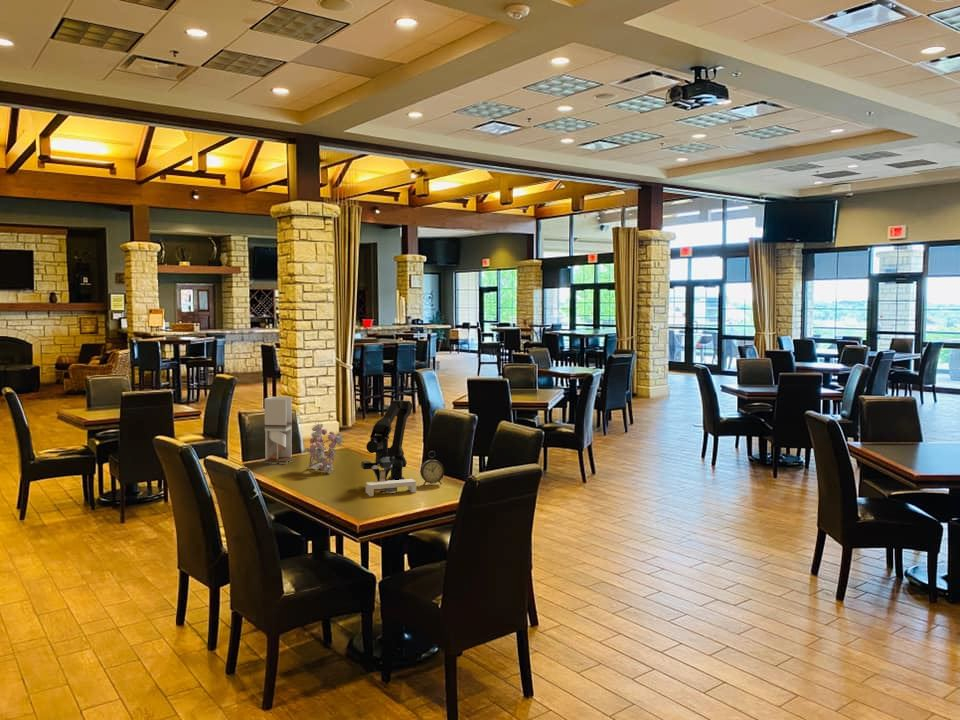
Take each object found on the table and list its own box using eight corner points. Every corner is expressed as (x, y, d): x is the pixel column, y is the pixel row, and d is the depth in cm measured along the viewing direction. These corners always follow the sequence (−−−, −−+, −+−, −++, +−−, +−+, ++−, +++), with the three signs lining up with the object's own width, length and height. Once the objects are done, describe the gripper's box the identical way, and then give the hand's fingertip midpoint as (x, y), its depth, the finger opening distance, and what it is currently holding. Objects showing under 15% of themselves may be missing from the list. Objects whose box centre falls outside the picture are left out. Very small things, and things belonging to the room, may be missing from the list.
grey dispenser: (264, 464, 397) (264, 398, 395) (270, 460, 408) (270, 396, 405) (285, 464, 397) (285, 399, 394) (291, 460, 407) (291, 397, 405)
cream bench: (365, 493, 337) (365, 482, 337) (411, 489, 346) (412, 478, 345) (369, 496, 331) (369, 485, 331) (416, 492, 340) (416, 481, 340)
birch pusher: (372, 485, 353) (372, 470, 352) (388, 483, 356) (388, 469, 355) (380, 491, 340) (380, 476, 339) (397, 490, 343) (397, 475, 342)
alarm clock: (421, 486, 352) (422, 452, 351) (419, 483, 357) (419, 450, 356) (444, 485, 355) (444, 451, 354) (441, 482, 360) (442, 449, 359)
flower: (287, 472, 371) (308, 428, 367) (296, 458, 393) (317, 417, 389) (324, 489, 373) (345, 446, 369) (331, 475, 395) (351, 434, 391)
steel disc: (384, 492, 340) (384, 490, 340) (394, 491, 342) (394, 489, 341) (387, 495, 336) (387, 492, 336) (397, 494, 337) (397, 491, 337)
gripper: (366, 453, 340) (366, 487, 341) (405, 451, 348) (405, 484, 349) (360, 449, 350) (360, 482, 351) (398, 447, 358) (398, 479, 359)
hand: (381, 482), depth 352 cm, fingers closed on birch pusher, 2 cm apart
